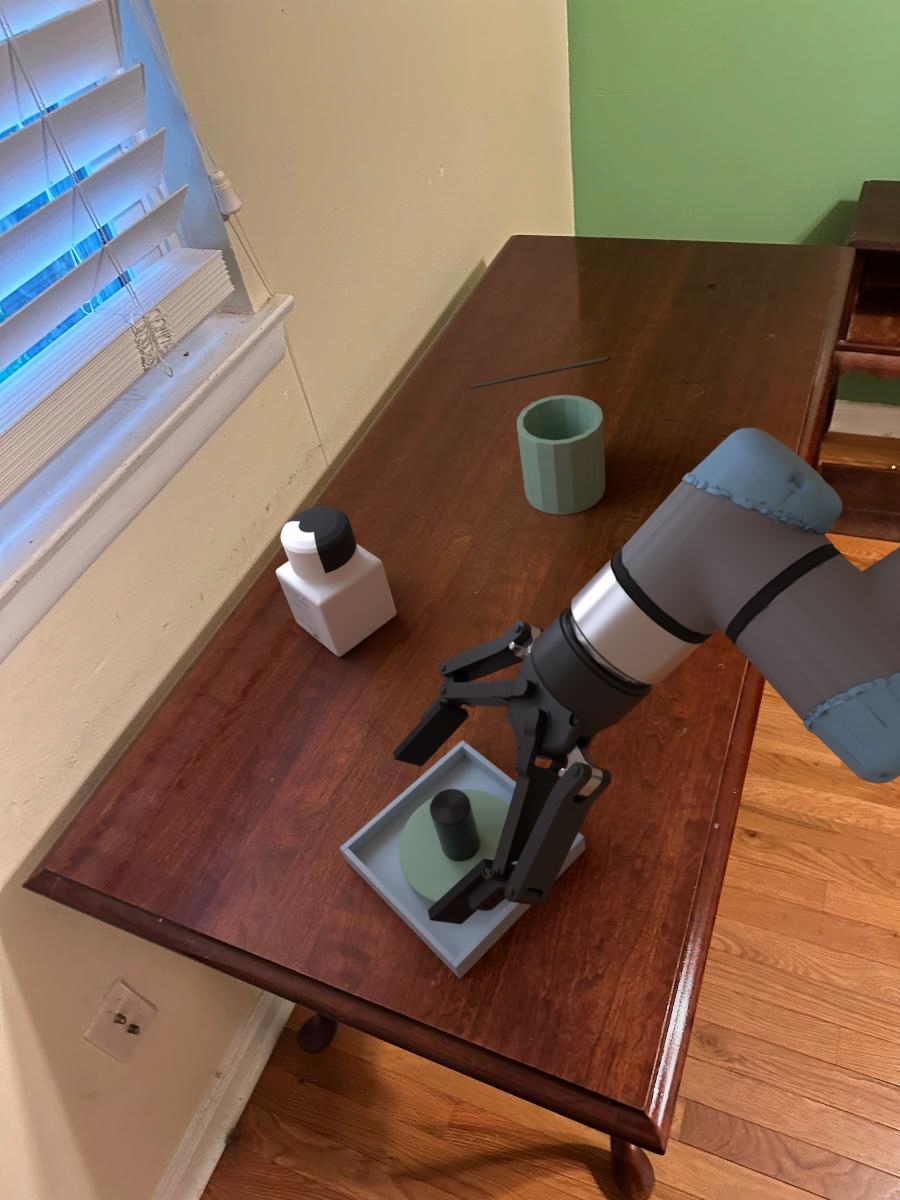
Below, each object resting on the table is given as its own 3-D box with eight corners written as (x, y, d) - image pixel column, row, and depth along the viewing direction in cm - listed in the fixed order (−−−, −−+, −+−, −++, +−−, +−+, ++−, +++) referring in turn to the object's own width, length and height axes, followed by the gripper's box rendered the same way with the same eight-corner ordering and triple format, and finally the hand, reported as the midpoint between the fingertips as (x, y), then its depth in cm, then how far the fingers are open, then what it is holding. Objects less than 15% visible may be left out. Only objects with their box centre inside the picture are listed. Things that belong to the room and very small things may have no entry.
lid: (552, 846, 66) (545, 800, 61) (461, 939, 62) (446, 897, 57) (464, 775, 71) (452, 728, 67) (376, 855, 67) (356, 811, 63)
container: (353, 582, 91) (321, 486, 82) (398, 615, 87) (370, 517, 78) (295, 623, 88) (256, 528, 79) (339, 659, 84) (302, 563, 74)
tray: (585, 849, 66) (584, 836, 64) (459, 979, 60) (455, 968, 59) (465, 753, 74) (462, 739, 72) (345, 860, 68) (339, 847, 67)
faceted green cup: (621, 483, 96) (620, 411, 89) (568, 525, 92) (562, 454, 86) (561, 456, 101) (556, 386, 94) (509, 494, 98) (499, 425, 91)
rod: (608, 362, 115) (608, 358, 114) (470, 391, 115) (469, 386, 115) (607, 360, 115) (607, 355, 115) (469, 388, 116) (469, 384, 115)
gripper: (740, 823, 47) (508, 1003, 56) (587, 542, 65) (430, 716, 74) (649, 798, 43) (416, 996, 52) (512, 507, 61) (357, 695, 70)
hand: (424, 832), depth 63 cm, fingers open, 13 cm apart
